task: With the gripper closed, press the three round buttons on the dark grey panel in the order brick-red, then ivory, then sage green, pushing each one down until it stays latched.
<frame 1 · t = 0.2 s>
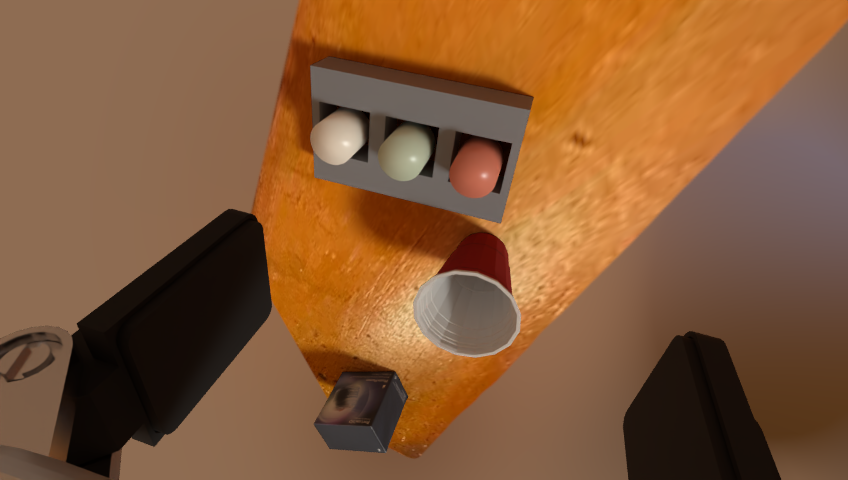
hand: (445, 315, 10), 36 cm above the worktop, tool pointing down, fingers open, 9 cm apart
small box: (375, 382, 74), on the worktop
brick button: (477, 165, 42), point 5 cm above the worktop, slide at 0.0 cm
ivory button: (341, 134, 44), point 5 cm above the worktop, slide at 0.0 cm
panel: (420, 133, 47), on the worktop
plastic cup: (484, 249, 53), on the worktop
sage button: (407, 150, 43), point 5 cm above the worktop, slide at 0.0 cm
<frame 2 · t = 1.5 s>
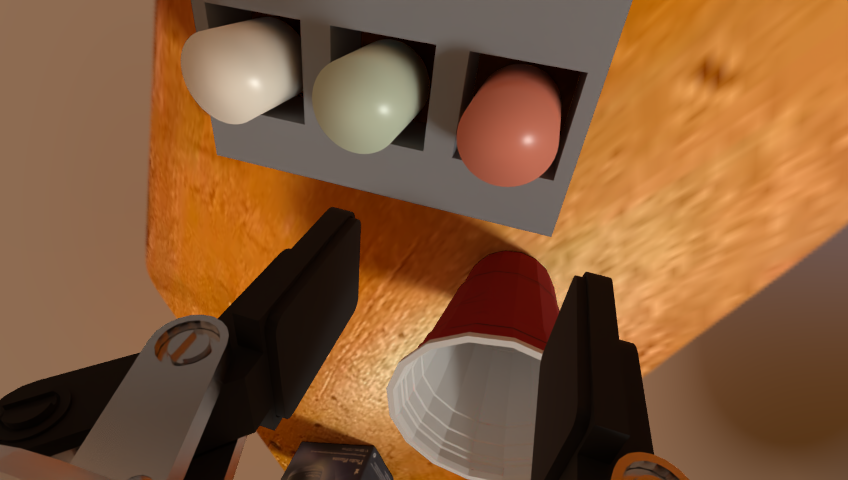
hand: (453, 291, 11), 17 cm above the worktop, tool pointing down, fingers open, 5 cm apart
small box: (347, 456, 52), on the worktop
brick button: (512, 123, 21), point 5 cm above the worktop, slide at 0.0 cm
ivory button: (250, 68, 23), point 5 cm above the worktop, slide at 0.0 cm
panel: (403, 73, 26), on the worktop
plastic cup: (513, 279, 32), on the worktop
sage button: (374, 94, 22), point 5 cm above the worktop, slide at 0.0 cm
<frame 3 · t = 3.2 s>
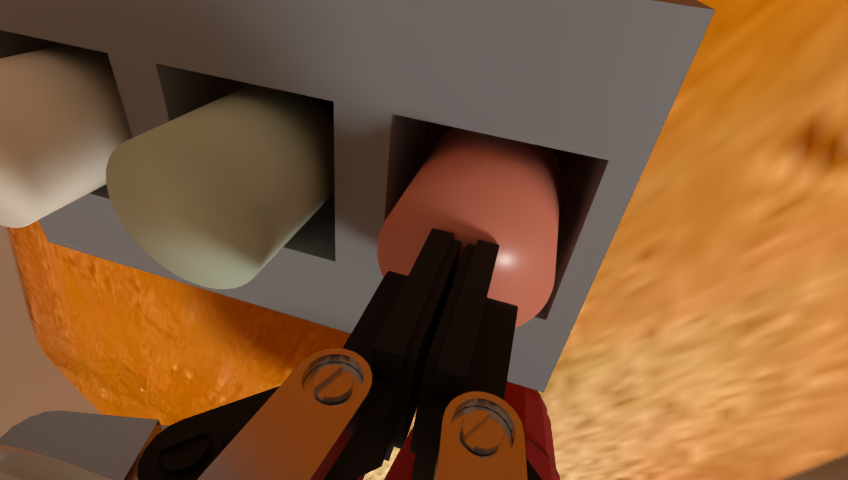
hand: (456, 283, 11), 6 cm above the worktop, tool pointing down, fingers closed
brick button: (478, 219, 13), point 4 cm above the worktop, slide at 1.0 cm, touching gripper
ivory button: (47, 130, 14), point 5 cm above the worktop, slide at 0.0 cm
panel: (314, 126, 17), on the worktop
plastic cup: (493, 398, 23), on the worktop
sage button: (241, 179, 13), point 5 cm above the worktop, slide at 0.0 cm
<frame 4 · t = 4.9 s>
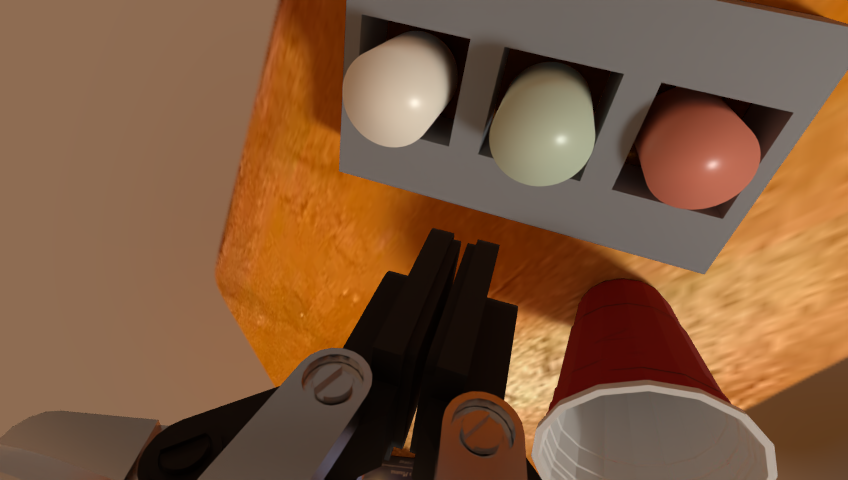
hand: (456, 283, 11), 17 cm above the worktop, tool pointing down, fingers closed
small box: (401, 468, 52), on the worktop
brick button: (688, 145, 21), point 3 cm above the worktop, slide at 1.8 cm
ivory button: (403, 87, 22), point 5 cm above the worktop, slide at 0.0 cm
panel: (548, 95, 25), on the worktop
plastic cup: (624, 306, 31), on the worktop
sage button: (543, 121, 21), point 5 cm above the worktop, slide at 0.0 cm
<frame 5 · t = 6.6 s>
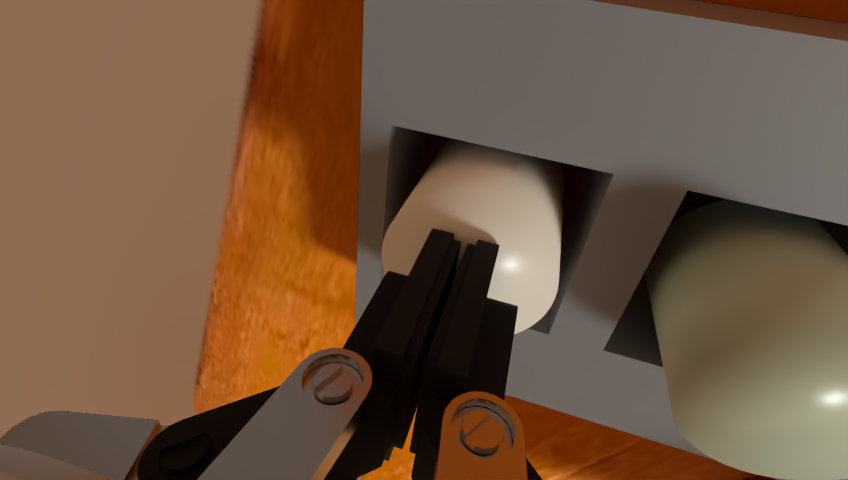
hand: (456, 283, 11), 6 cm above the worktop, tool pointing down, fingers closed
ivory button: (482, 223, 13), point 3 cm above the worktop, slide at 1.5 cm, touching gripper
panel: (713, 226, 14), on the worktop
sage button: (760, 327, 10), point 5 cm above the worktop, slide at 0.0 cm
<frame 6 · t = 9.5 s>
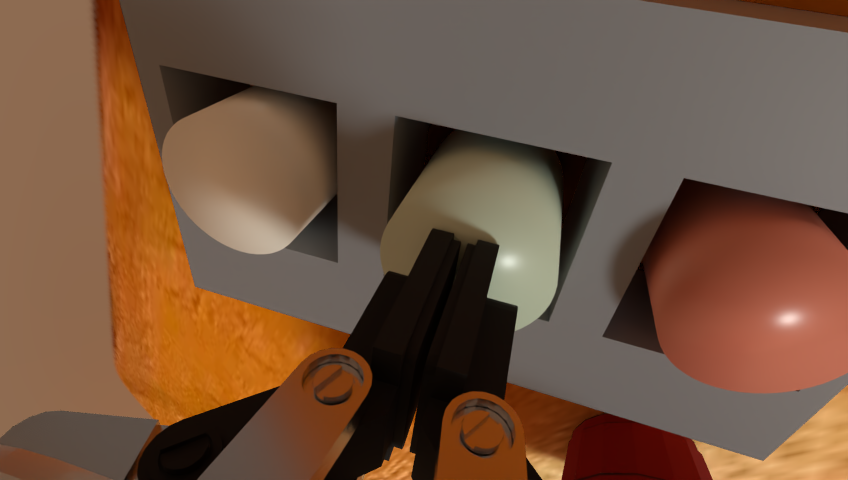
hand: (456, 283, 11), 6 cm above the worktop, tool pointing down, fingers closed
brick button: (734, 268, 12), point 3 cm above the worktop, slide at 1.8 cm
ivory button: (276, 157, 14), point 3 cm above the worktop, slide at 1.8 cm
panel: (499, 168, 16), on the worktop
plastic cup: (634, 443, 22), on the worktop
sage button: (481, 220, 13), point 4 cm above the worktop, slide at 1.0 cm, touching gripper
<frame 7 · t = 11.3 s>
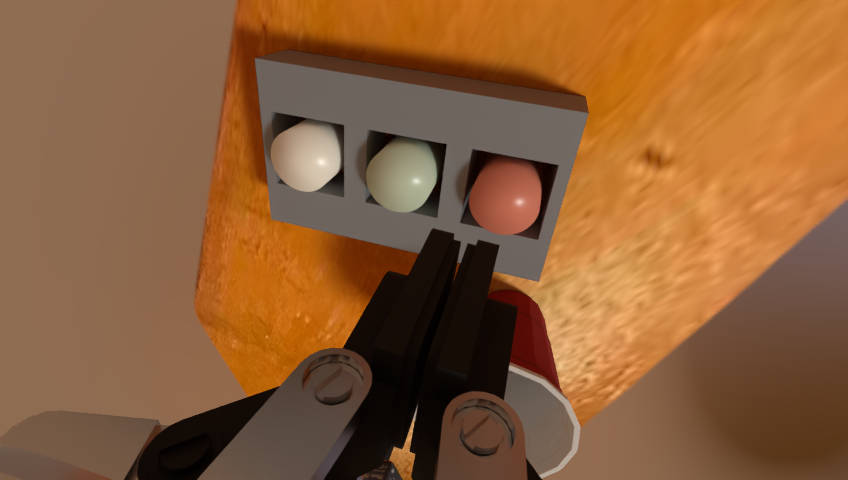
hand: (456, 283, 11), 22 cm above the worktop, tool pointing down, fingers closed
small box: (367, 473, 58), on the worktop
brick button: (507, 188, 30), point 3 cm above the worktop, slide at 1.8 cm
ivory button: (316, 150, 32), point 3 cm above the worktop, slide at 1.8 cm
panel: (419, 155, 33), on the worktop
plastic cup: (510, 312, 39), on the worktop
sage button: (408, 168, 31), point 3 cm above the worktop, slide at 1.8 cm
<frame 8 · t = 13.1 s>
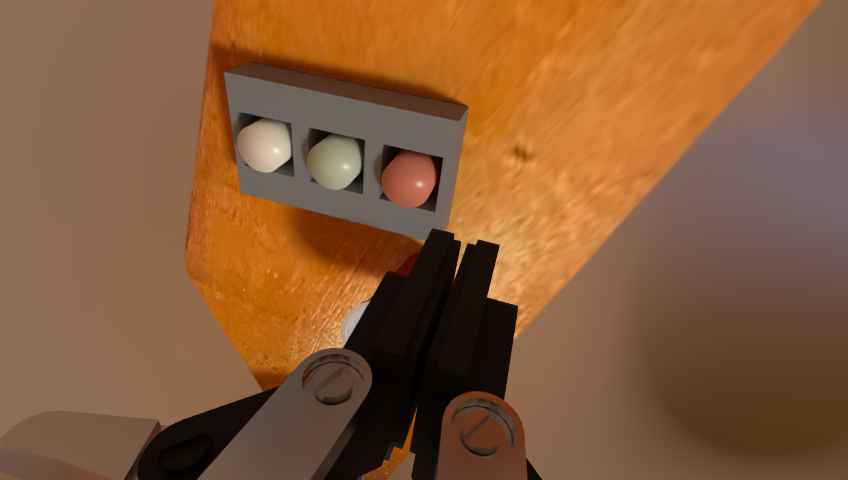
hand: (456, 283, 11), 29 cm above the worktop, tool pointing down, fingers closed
brick button: (413, 173, 40), point 3 cm above the worktop, slide at 1.8 cm
ivory button: (273, 140, 42), point 3 cm above the worktop, slide at 1.8 cm
panel: (353, 145, 43), on the worktop
plastic cup: (431, 270, 49), on the worktop
sage button: (341, 156, 41), point 3 cm above the worktop, slide at 1.8 cm
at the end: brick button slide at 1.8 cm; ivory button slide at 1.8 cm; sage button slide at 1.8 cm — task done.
